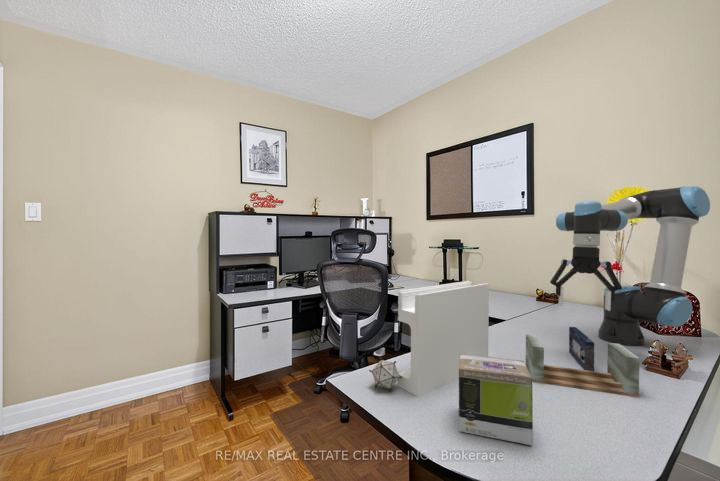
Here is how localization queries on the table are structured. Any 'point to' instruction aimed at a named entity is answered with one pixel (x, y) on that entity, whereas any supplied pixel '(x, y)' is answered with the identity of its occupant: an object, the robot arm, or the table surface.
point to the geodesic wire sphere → (385, 374)
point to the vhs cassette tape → (581, 348)
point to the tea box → (495, 398)
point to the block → (442, 331)
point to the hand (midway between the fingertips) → (583, 307)
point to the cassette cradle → (616, 380)
